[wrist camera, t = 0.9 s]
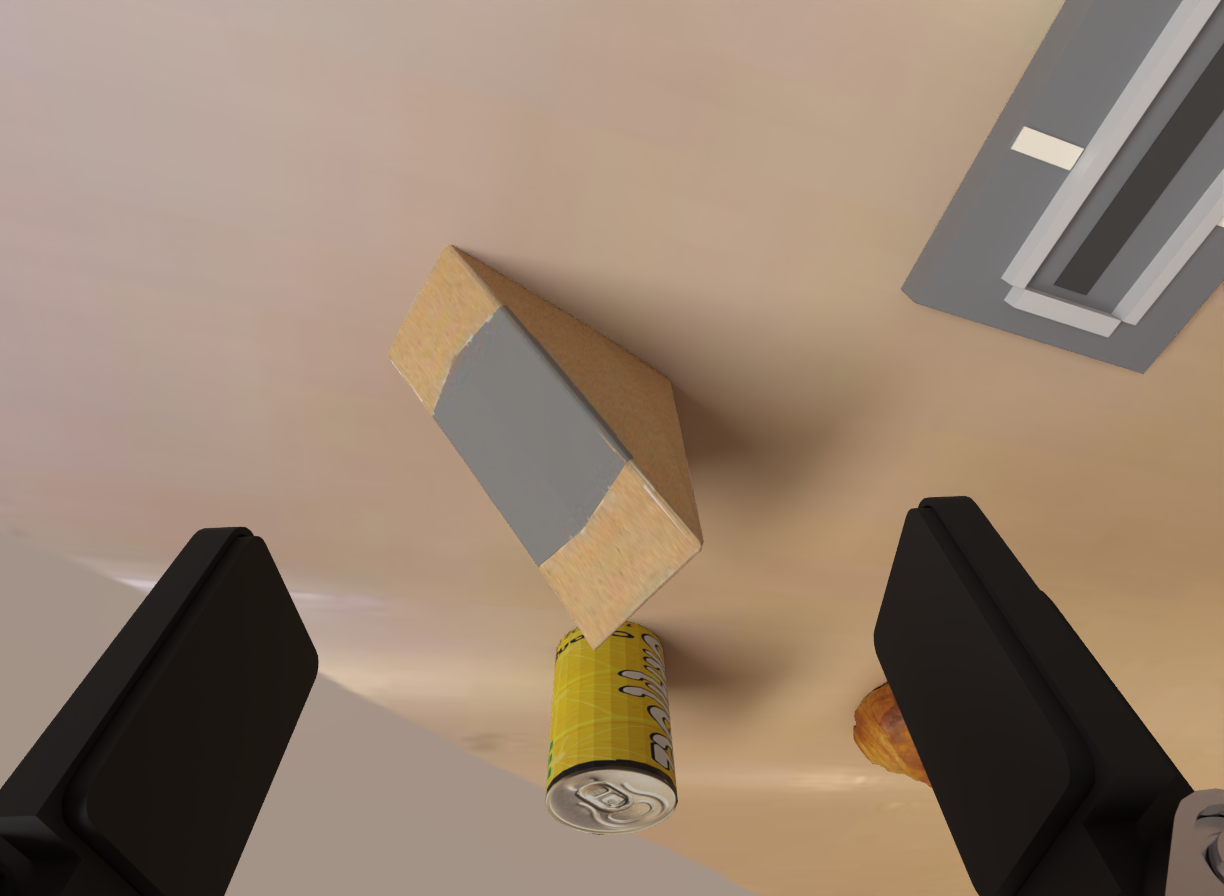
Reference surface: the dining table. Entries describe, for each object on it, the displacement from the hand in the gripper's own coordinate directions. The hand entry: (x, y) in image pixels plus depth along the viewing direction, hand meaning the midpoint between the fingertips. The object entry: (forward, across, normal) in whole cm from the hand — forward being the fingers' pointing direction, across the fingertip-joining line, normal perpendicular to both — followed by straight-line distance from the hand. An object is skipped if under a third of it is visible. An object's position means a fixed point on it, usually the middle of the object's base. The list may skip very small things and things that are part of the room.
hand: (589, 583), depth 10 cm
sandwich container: (+28, +5, +11) cm, 31 cm away
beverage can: (+28, +1, +38) cm, 47 cm away
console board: (+28, -28, -2) cm, 40 cm away
